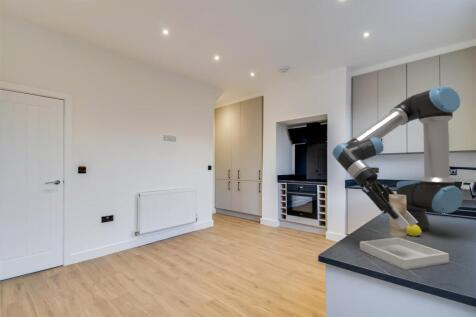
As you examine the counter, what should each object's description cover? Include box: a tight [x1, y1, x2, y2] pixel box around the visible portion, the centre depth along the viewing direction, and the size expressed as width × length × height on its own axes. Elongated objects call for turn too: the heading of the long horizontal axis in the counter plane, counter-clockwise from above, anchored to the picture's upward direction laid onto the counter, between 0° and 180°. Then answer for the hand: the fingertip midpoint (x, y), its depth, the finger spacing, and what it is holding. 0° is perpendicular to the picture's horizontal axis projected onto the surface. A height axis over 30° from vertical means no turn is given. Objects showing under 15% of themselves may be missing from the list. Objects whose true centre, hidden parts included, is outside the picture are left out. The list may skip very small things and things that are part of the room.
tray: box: [359, 237, 450, 271], centre depth 84 cm, size 18×18×3 cm
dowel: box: [388, 193, 408, 239], centre depth 84 cm, size 5×5×14 cm
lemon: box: [407, 224, 423, 237], centre depth 107 cm, size 7×5×5 cm
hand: (410, 225), depth 81 cm, fingers closed on dowel, 5 cm apart
